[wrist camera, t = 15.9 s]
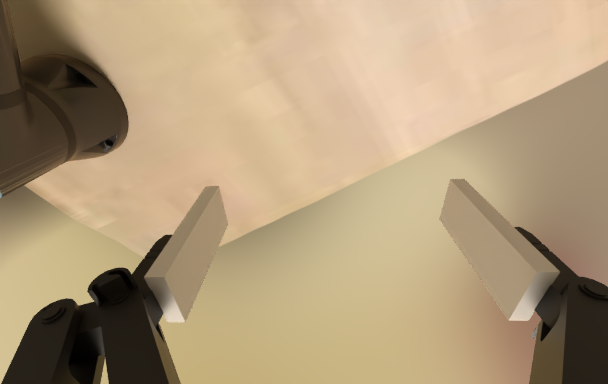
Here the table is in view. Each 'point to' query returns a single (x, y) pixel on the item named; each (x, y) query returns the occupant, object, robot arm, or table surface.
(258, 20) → the table surface
